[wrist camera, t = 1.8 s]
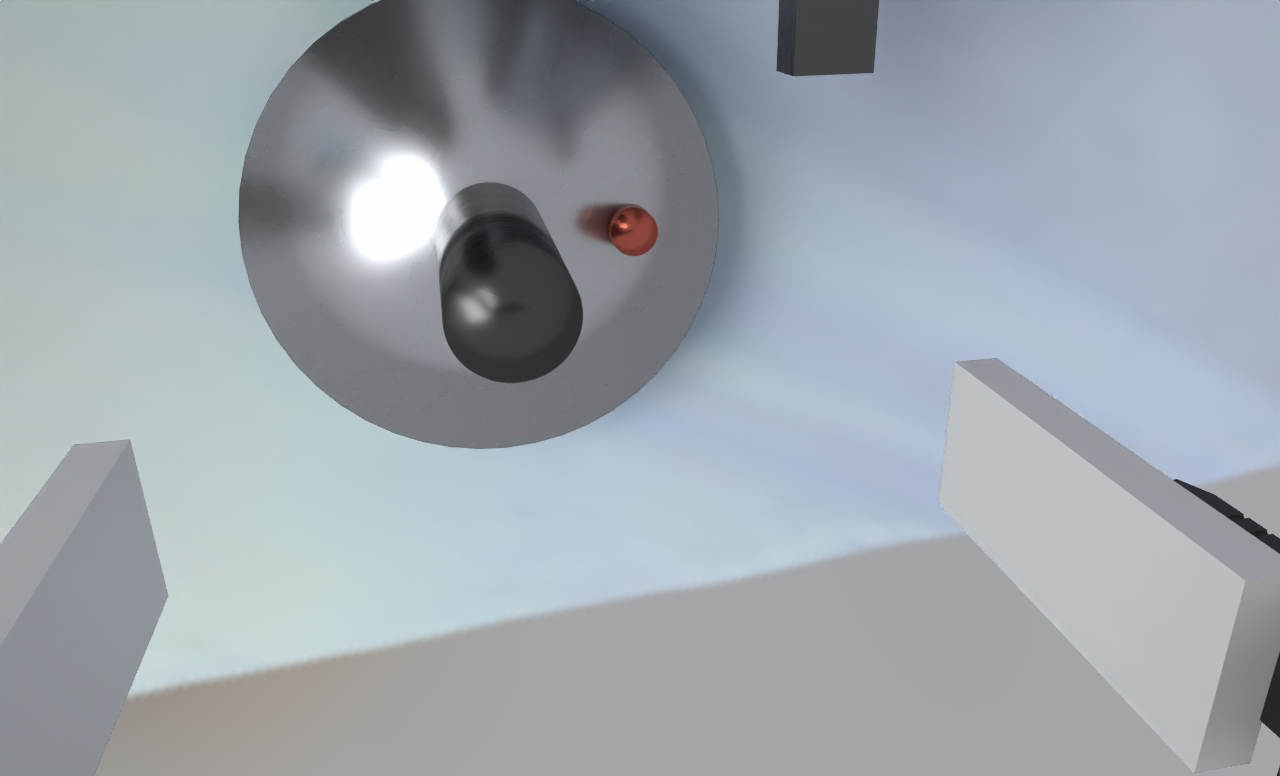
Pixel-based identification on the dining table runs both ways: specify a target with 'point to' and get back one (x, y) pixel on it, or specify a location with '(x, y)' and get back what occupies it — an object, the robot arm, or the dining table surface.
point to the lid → (478, 217)
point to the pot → (826, 36)
